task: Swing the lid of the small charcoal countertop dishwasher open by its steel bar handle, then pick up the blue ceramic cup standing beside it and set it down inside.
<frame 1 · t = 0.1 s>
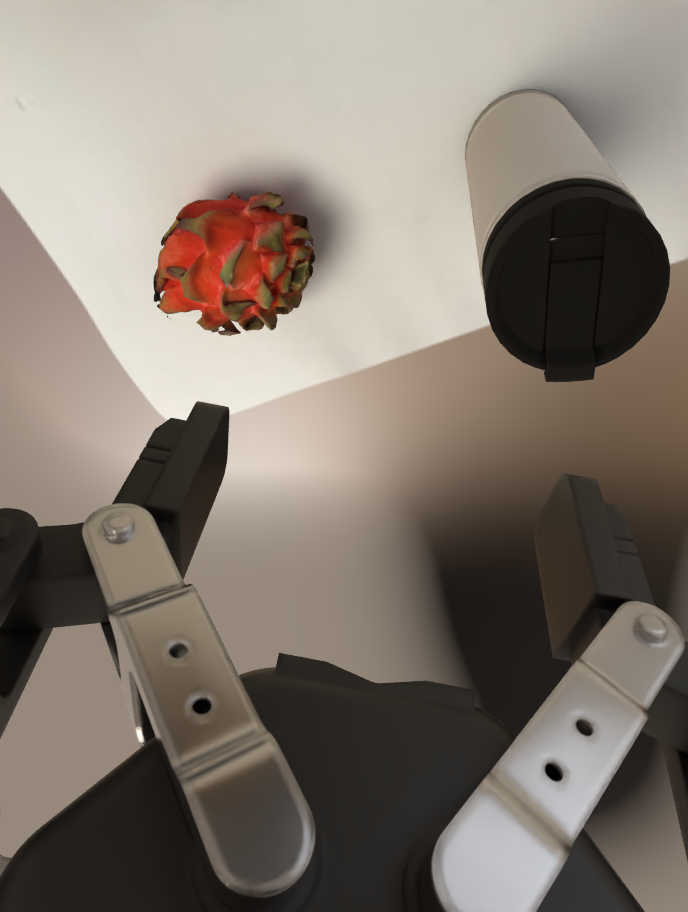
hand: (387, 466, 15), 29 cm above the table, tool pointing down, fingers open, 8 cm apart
travel mug: (518, 151, 37), on the table
dragon fruit: (244, 246, 43), on the table
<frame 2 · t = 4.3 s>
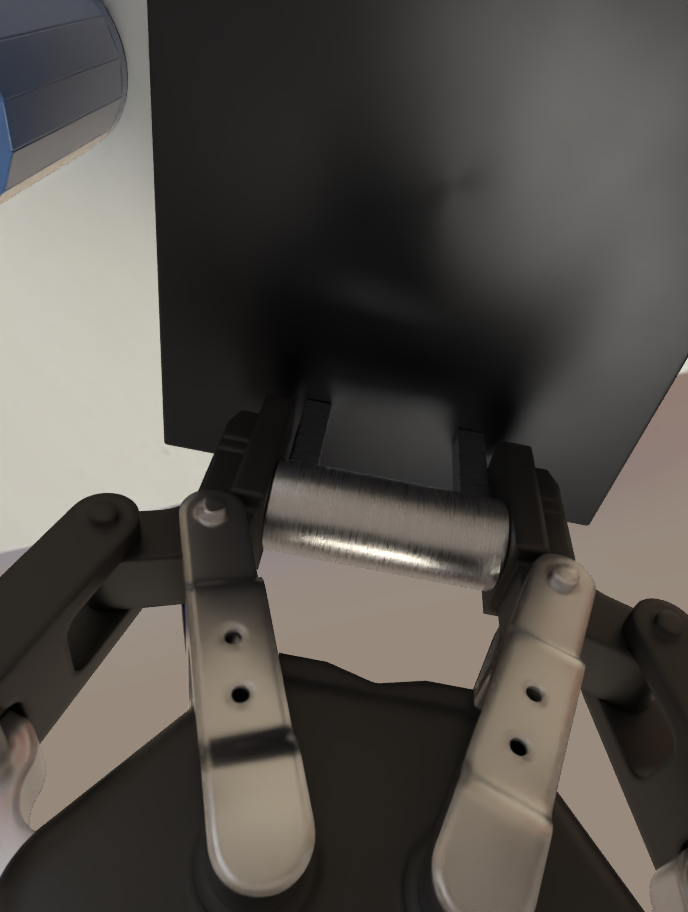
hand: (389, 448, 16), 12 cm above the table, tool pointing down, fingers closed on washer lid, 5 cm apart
washer lid: (456, 218, 11), point 13 cm above the table, hinge at -0.1°, touching gripper
cup: (43, 57, 22), on the table
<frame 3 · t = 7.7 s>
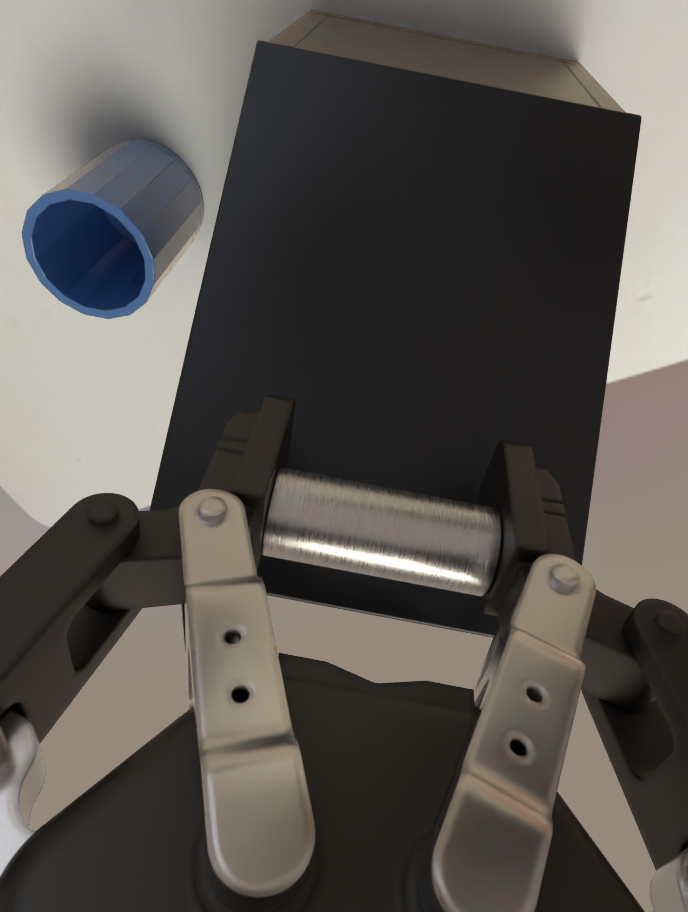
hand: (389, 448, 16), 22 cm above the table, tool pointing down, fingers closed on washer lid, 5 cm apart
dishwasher: (408, 211, 33), on the table
washer lid: (414, 304, 17), point 19 cm above the table, hinge at 49.0°, touching gripper
cup: (150, 198, 35), on the table
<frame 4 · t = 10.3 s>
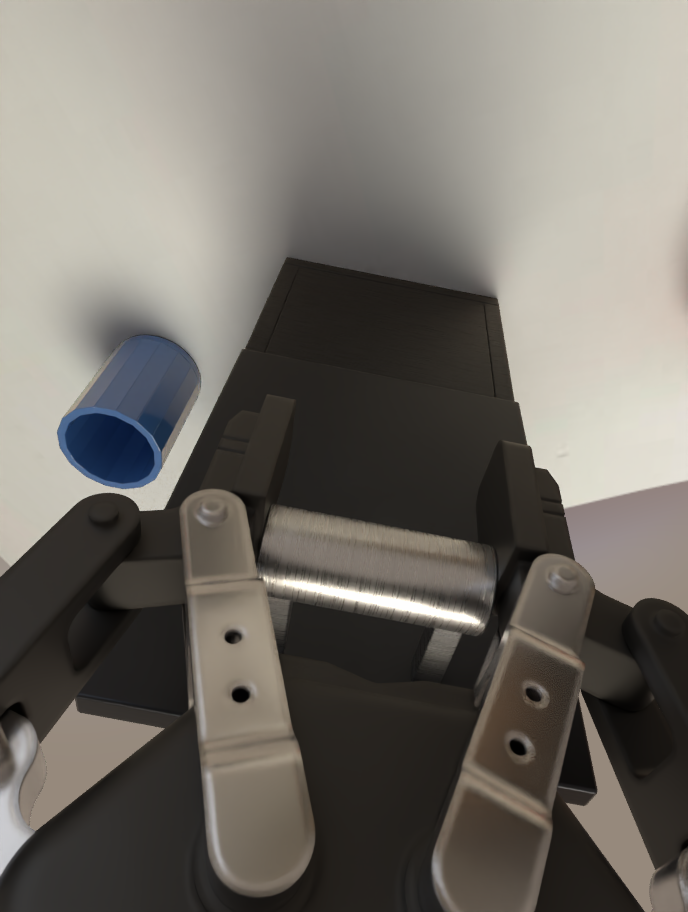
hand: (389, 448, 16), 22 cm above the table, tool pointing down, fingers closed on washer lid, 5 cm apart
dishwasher: (367, 390, 41), on the table
washer lid: (377, 458, 20), point 19 cm above the table, hinge at 92.2°, touching gripper
cup: (157, 374, 42), on the table
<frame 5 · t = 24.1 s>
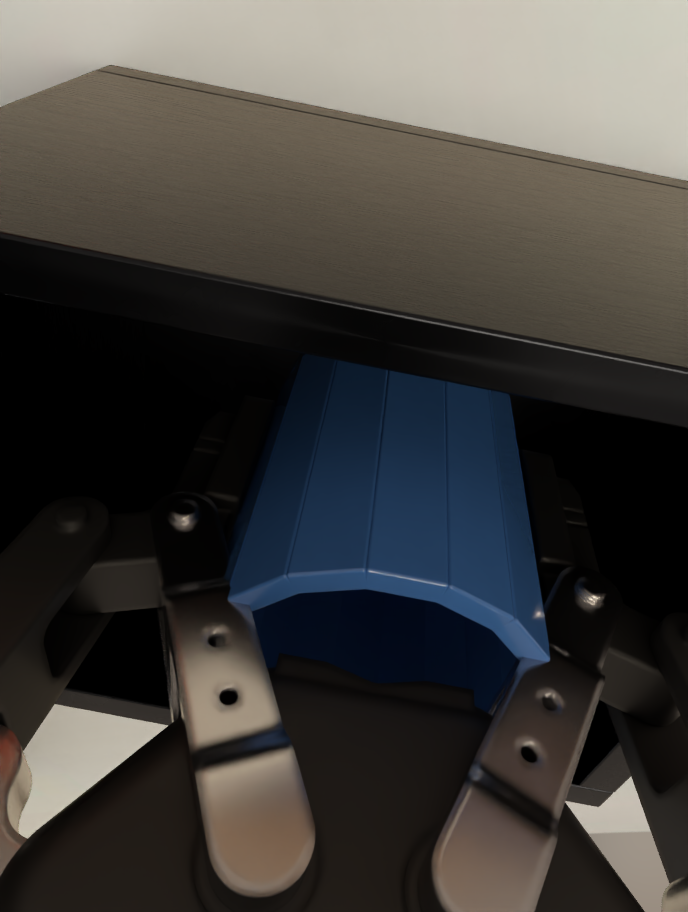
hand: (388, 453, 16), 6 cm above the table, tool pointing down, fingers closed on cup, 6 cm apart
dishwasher: (371, 337, 20), on the table
cup: (393, 414, 17), point 4 cm above the table, touching gripper
when the fingers open (3 cm above the table, at t = 25.7 s): cup stays where it is, resting on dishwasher.
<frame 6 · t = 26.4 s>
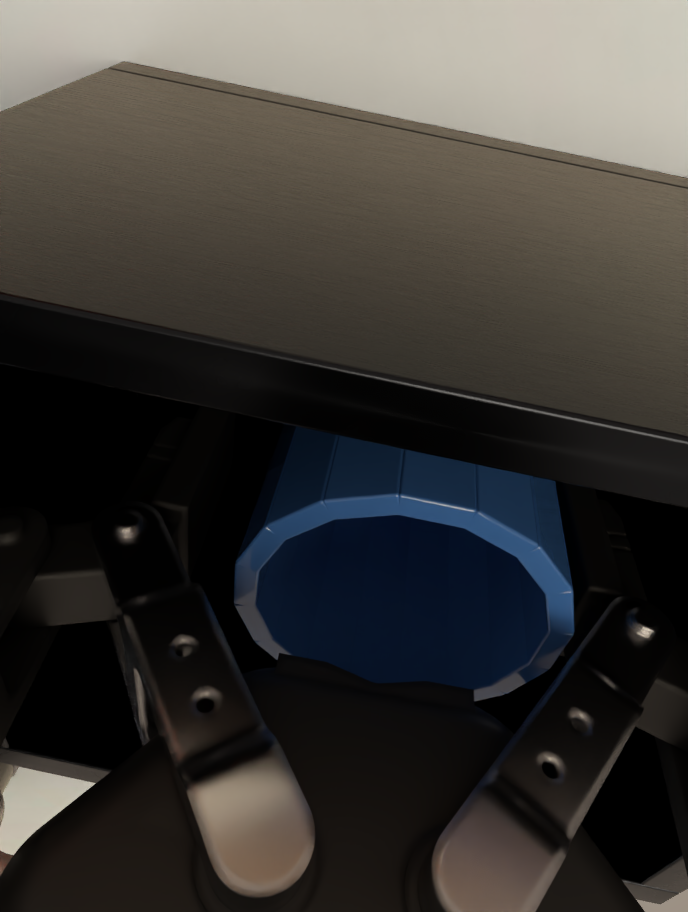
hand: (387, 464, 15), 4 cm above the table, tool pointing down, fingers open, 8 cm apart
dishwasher: (407, 362, 18), on the table
cup: (419, 376, 17), point 1 cm above the table, touching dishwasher
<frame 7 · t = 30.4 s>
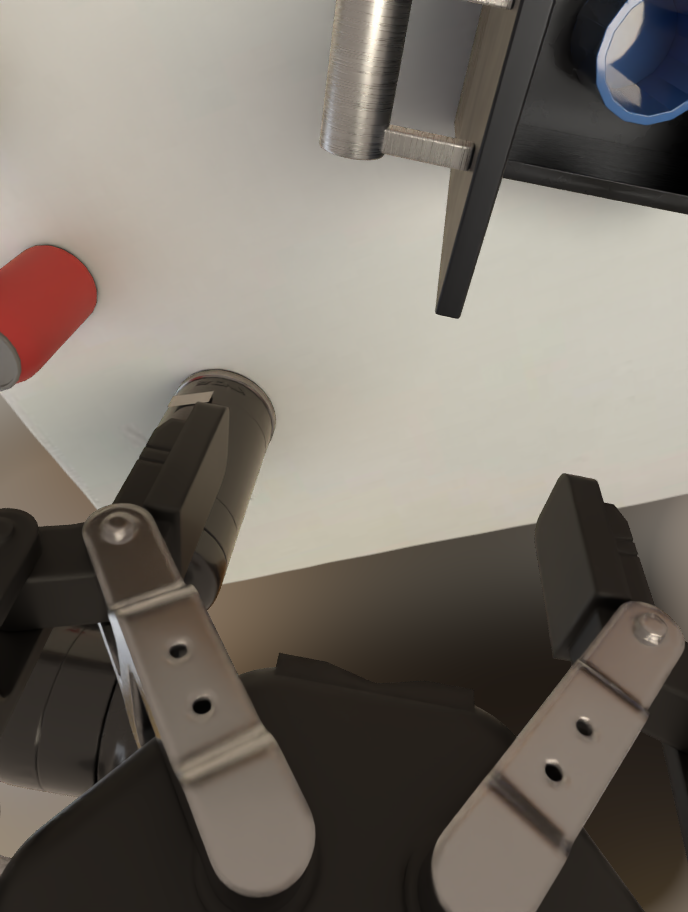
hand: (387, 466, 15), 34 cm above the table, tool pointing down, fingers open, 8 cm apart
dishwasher: (613, 35, 37), on the table
washer lid: (435, 41, 22), point 19 cm above the table, hinge at 92.7°
beer can: (61, 280, 51), on the table
cup: (624, 34, 36), point 1 cm above the table, touching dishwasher
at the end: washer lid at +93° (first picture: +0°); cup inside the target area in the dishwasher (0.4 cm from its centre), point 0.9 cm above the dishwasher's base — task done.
